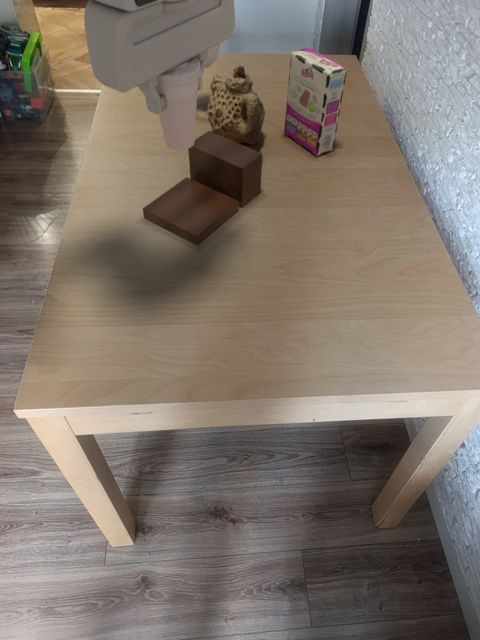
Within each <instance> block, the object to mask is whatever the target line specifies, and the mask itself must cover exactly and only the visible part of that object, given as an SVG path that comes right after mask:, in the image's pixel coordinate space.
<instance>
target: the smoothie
mask: <svg viewBox="0 0 480 640" xmlns="http://www.w3.org/2000/svg"><path fill="white" fill-rule="evenodd" d="M200 74H201V69H200V62H199V60H198V59H197V58H195V57H192V58H190V59H188V60H187V61H185V62H183V63H181V64H179V65H177V66H175V67H173V68H171V69H169V70H167V71H165V72H163V73H162V74H160V75H158V76H157V82H158V84H157V85H154V87H155V89H156V90H157V92H158V93H159V94H161V95H165V97H166V103H165V104H166V105H167V108H166V110H164V111H162V112H161V113H159V114H158V118H159V121H160V125H161V129H162V133H163V137H164V141H165V145H166V146H167V147H168V148H169V149H171V150H176V151H183V150H184V151H185V150H188V148H190V147H192V146H193V145H194V142H195V140H196V139H195V138H196V123H197V107H198V106H197V105H198V91H199V90H198V77H199V76H200ZM197 90H198V91H197Z"/></svg>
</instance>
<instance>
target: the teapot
mask: <svg viewBox="0 0 480 640" xmlns="http://www.w3.org/2000/svg"><path fill="white" fill-rule="evenodd" d="M232 70H233V71H232V72H230V73H228V72H226V71H223V72H218V73H216V74H215V76H213V77H212V80H211V83H210V87H209V88H210V90H211V95H210V96H209V100H208V103H207V112H206V114H207V117H208V118H207V119H208V122H209V125H210V127H211V128H212V130H213V131H214V133H215V134H217V135H220V136H222V137H224V138H227V139H229V140H232V141H234V142H236V143H239V144H241V145H243V144H252V145H253V144H255V143H256V142H257V141H258V140H259V138H260V136H261V132H262V127H263V124H264V121H265V115H266V110H265V107H264V103H263V101H262V99H261V97H260V96H259V94H258V93H257V92H256V90H253V85H254V81H253V79H252V78H251V76H250V75H249V74H247V73H246V71H245V66H244V65H243V64H242V63H236V65H234V67H233V68H232Z"/></svg>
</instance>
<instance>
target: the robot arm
mask: <svg viewBox="0 0 480 640" xmlns="http://www.w3.org/2000/svg"><path fill="white" fill-rule="evenodd" d="M83 23H84V32H85V33H84V34H85V40H86V45H87V50H88V56H89V61H90V65H91V69H92V73H93V75H94V78H95V79H97V81H98V82H99V83H100V84H102V85H103V86H105V87H106V88H108V89H110V90H114V91H116V92H119V93H121V94H123V93H128V92H129V91H131V90H132V89H134V88H136V87H138V89H139V90H140V92H141V93H142V94H143V96H144V97H145V102H146V106H147V107H146V108H147V110H148V111H149V112H150V113H152V114H154V115H159V113H161V112H162V111H164V110H166V108H167V105H166V104H165V103H166V97H165V95H161V94H159V93H158V92H157V90H156V89H155V87H154V85H157V84H158V82H157V76H158V75H160V74H162V73H163V72H165V71H167V70H169V69H171V68H173V67H175V66H177V65H179V64H181V63H183V62H185V61H187V60H188V59H190V58H192V57H195V58H197V59H198V60H199V62H200V69H201V74H200V76H199V77H198V90H197V92H198V91H200V90H202V89H203V74H204V71H205V69H206V68H205V65H206V62H207V59H208V51H207V50H208V49H210V48H212V47H213V46H215V45H217V44H219V43H220V44H222V43H223V42H226V41H227V40H229V39H231V37H232V36H233V34H234V31H235V28H236V10H235V0H89V1H88V2H87V3H86V6H85V8H84V15H83Z"/></svg>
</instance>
